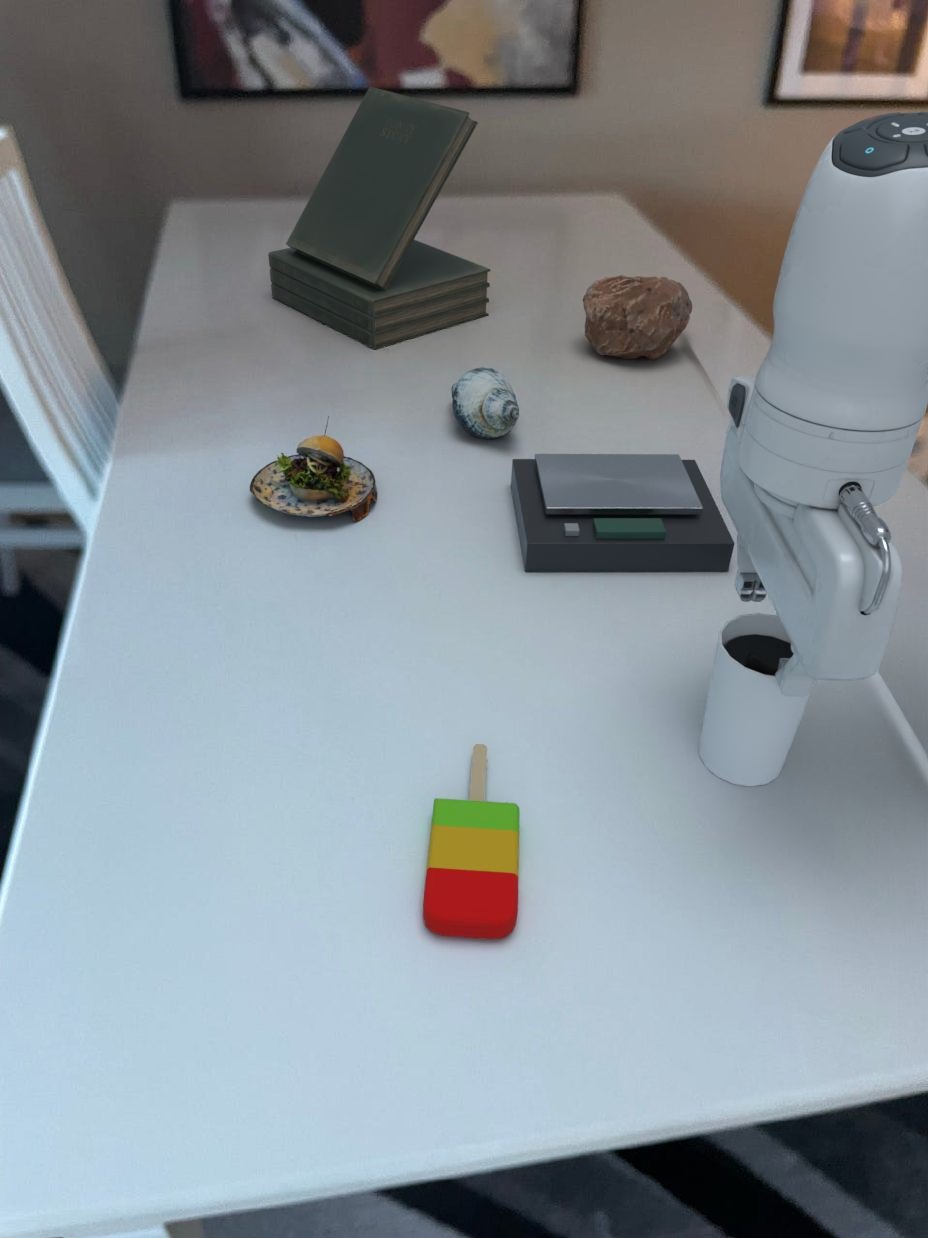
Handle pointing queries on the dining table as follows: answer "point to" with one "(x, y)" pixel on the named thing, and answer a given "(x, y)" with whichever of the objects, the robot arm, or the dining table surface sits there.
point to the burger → (316, 481)
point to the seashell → (485, 403)
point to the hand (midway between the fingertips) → (768, 639)
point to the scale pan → (616, 484)
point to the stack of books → (382, 229)
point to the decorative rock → (635, 315)
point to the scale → (618, 534)
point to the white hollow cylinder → (749, 703)
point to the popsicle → (473, 863)
